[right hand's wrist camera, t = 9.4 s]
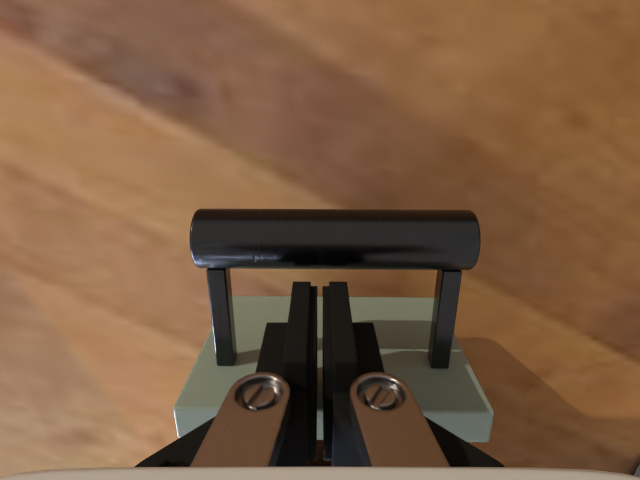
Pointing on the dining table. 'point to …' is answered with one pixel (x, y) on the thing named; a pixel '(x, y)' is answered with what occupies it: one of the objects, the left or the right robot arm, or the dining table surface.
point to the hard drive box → (637, 471)
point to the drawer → (384, 312)
